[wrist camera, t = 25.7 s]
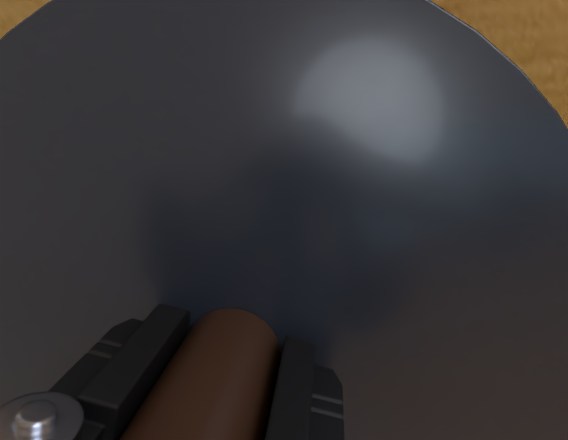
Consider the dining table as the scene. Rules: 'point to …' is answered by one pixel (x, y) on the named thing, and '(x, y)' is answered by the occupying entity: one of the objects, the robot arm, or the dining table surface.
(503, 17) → the dining table surface
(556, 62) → the dining table surface
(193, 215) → the lid
